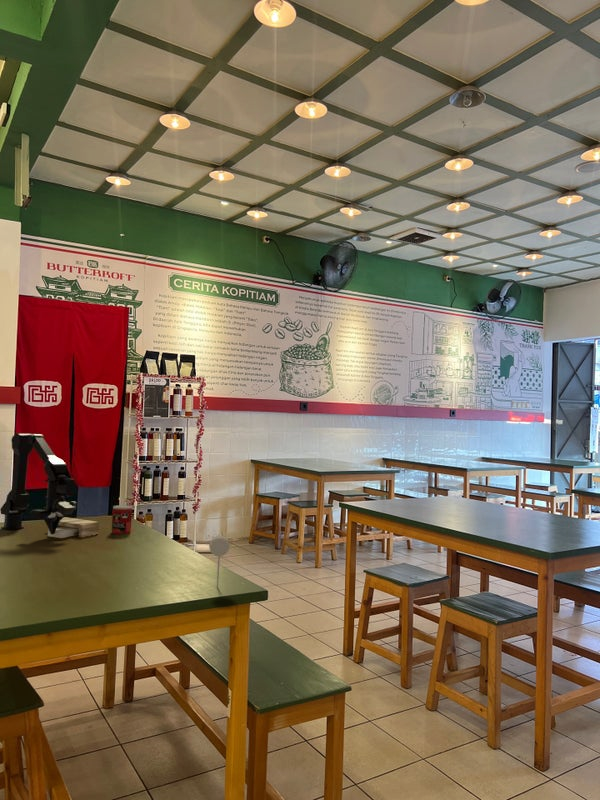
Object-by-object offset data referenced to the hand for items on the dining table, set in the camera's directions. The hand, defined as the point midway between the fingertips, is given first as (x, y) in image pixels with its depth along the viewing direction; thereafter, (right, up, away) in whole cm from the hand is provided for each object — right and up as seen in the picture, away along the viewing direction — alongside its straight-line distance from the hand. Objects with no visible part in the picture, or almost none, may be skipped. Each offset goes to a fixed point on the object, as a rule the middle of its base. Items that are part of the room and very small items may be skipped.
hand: (52, 534), depth 236 cm
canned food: (+22, -3, +16) cm, 28 cm away
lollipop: (+73, -3, -60) cm, 94 cm away
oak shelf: (+4, -2, +10) cm, 11 cm away
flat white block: (+3, -2, +6) cm, 7 cm away
